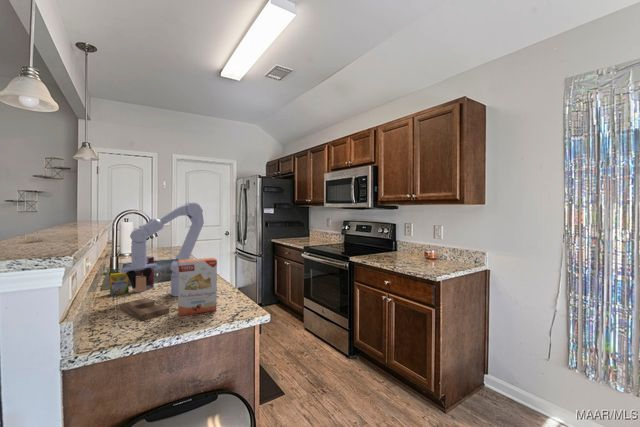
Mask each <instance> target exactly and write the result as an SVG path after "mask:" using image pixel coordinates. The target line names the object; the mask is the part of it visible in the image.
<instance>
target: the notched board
mask: <svg viewBox="0 0 640 427" xmlns="http://www.w3.org/2000/svg"><path fill="white" fill-rule="evenodd" d="M120 308H121V309H122V310H123V311H125V312H126V313H128V314H130V315H131V316H133V317H135V318H136V319H137V320H140V321H144V320H149V319H152V318H155V317H156V318H157V317H159V316H162V315H167V314H170V307H169V306H166V305H164V304H162V303H161V304H155V300H153V299H151V298H149V297H144V298H141V299H140V298H139V299H136V300H135V299H134V300H131V301H127V302H122V303H120Z"/></svg>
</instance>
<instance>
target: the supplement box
mask: <svg viewBox="0 0 640 427" xmlns="http://www.w3.org/2000/svg"><path fill="white" fill-rule="evenodd" d="M146 257H147V264H154V263H155V257H154V256H146ZM151 269H152V273H151V274H150V276H149V279H148V282H147V286H146V290H145V291H147V290H150V289H154V288H155V287H154V286H155V285H154V284H155V283H154V282H155V280H154V279H155V278H154V277H155V268H151ZM135 270H136V269H135ZM134 272H135V273H136V276H142V275H143V272H142V270H138V271H134ZM133 292H135V291H133ZM135 293H136V292H135ZM139 293H143V291H140V292H139Z"/></svg>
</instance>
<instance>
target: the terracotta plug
mask: <svg viewBox="0 0 640 427" xmlns="http://www.w3.org/2000/svg"><path fill="white" fill-rule="evenodd" d="M135 282H136V287H135V288H132V291H133V292H134V291H135V293H141V292H140V291H142V292H145V291H147V290H146V277H145V276H143V275H142V276H136V280H135Z"/></svg>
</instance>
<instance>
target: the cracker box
mask: <svg viewBox="0 0 640 427" xmlns="http://www.w3.org/2000/svg"><path fill="white" fill-rule="evenodd" d="M217 268H218V260H217V259H216V257H206V258H190V259H187V260H178V296H177V298H178V299H177V313H178V316H179V317H181V316H186V315H187V316H188V315H194V314H200V313H209V312H216V311H217V303H218V302H217V299H218V298H217V288H218V284H217V283H218V281H217V280H218V279H217V278H218V269H217Z"/></svg>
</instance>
